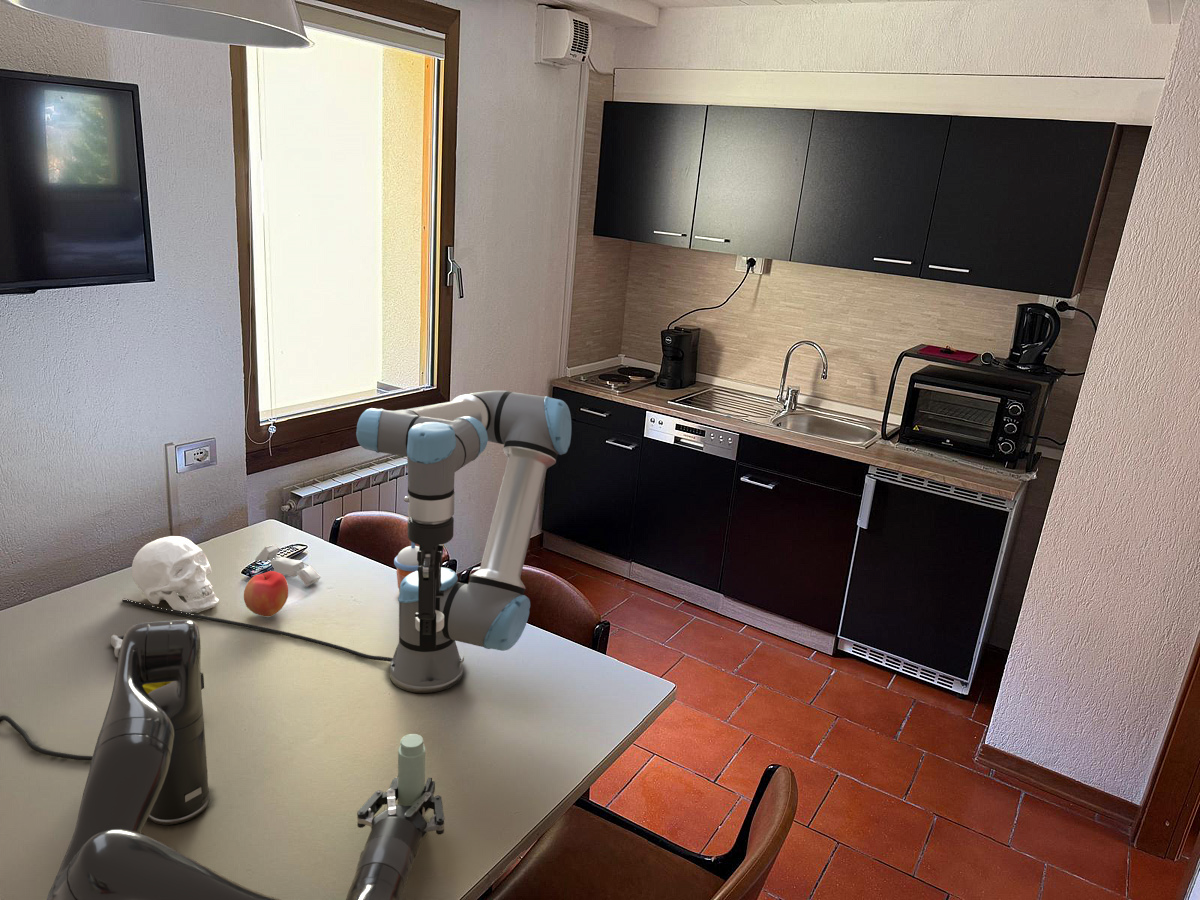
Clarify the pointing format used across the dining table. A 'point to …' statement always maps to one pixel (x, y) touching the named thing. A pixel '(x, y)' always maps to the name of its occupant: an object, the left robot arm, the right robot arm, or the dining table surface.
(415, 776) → the pale green cylinder
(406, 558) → the cup with straw
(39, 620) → the dining table surface
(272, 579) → the apple
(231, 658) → the dining table surface
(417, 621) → the lid
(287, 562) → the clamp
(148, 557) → the skull
